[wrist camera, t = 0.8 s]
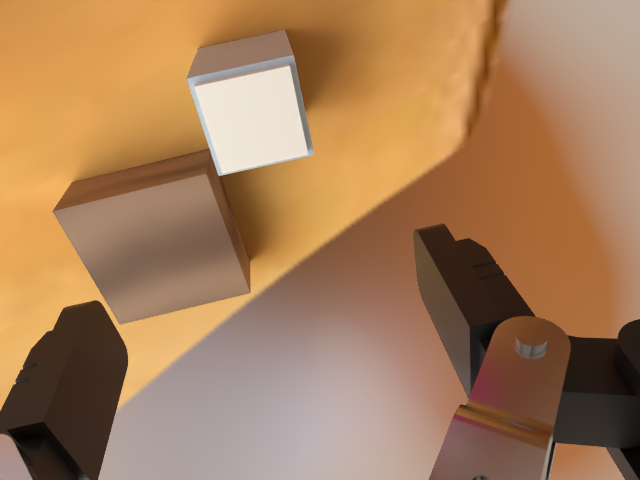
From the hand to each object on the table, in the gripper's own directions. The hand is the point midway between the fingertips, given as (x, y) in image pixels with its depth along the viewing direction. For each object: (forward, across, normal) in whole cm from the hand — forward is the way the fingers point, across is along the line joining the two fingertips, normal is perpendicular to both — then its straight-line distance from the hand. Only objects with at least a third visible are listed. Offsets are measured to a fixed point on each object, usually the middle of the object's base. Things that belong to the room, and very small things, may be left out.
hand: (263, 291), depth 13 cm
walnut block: (+20, +8, +8) cm, 23 cm away
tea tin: (+20, 0, 0) cm, 20 cm away
